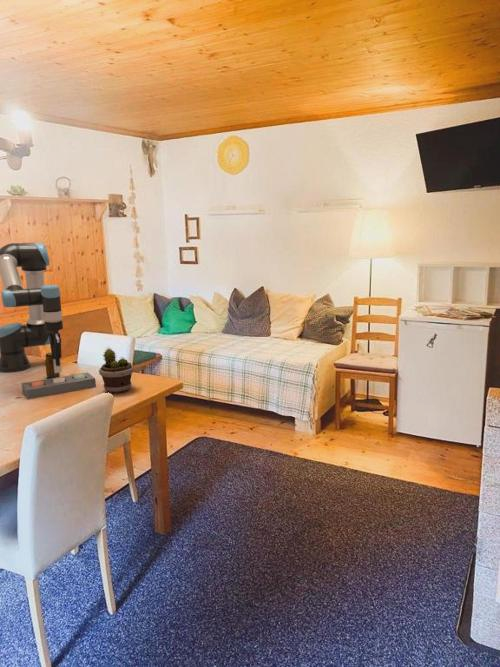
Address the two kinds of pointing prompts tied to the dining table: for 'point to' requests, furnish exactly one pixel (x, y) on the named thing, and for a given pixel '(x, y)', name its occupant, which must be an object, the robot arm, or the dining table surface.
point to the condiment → (50, 367)
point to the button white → (58, 380)
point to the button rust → (37, 383)
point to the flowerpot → (116, 373)
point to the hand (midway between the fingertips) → (57, 372)
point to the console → (58, 386)
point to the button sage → (79, 376)
